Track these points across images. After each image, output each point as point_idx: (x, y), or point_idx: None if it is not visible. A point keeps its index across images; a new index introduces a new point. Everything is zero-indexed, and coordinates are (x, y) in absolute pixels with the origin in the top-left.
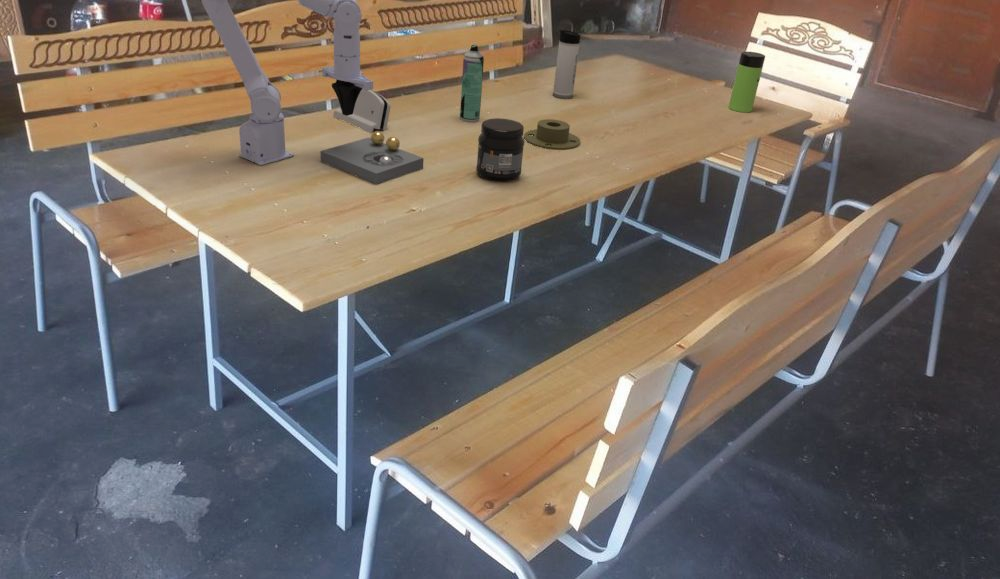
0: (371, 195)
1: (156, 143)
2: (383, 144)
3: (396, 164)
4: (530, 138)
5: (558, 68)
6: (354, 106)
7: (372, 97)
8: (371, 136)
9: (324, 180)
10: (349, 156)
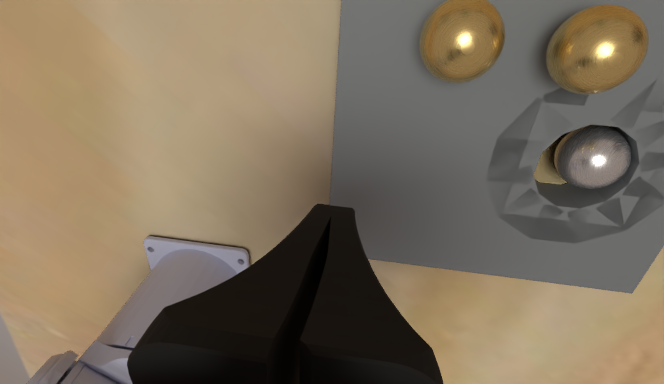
0: (633, 324)
1: (18, 350)
2: None
3: None
4: None
5: None
6: (358, 235)
7: None
8: (440, 79)
9: (446, 317)
10: (444, 232)
